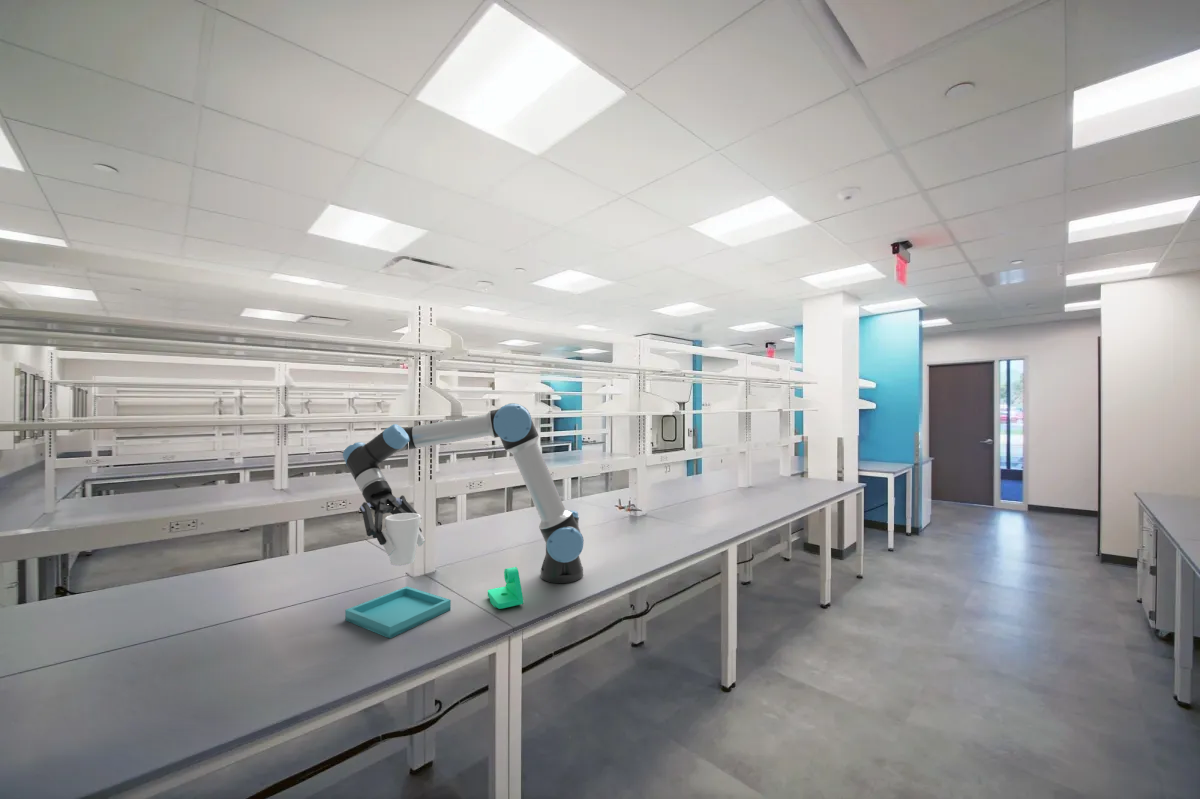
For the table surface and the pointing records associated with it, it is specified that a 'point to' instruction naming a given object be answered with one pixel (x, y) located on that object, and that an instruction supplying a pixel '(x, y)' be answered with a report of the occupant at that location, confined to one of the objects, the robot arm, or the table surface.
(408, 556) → the foam cup
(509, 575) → the camera mount
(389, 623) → the teal tray
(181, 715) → the table surface
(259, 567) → the table surface
